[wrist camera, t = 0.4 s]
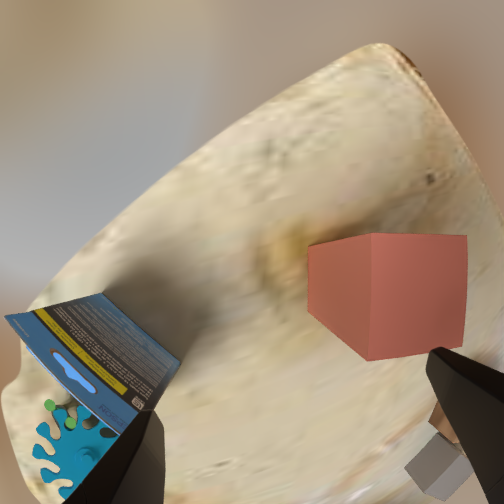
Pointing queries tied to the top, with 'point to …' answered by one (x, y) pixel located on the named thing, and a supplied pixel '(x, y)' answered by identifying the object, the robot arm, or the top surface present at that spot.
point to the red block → (391, 292)
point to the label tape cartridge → (98, 357)
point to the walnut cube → (442, 423)
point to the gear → (71, 446)
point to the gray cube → (439, 468)
